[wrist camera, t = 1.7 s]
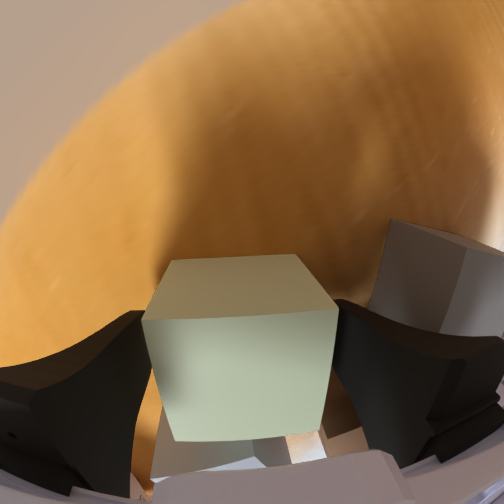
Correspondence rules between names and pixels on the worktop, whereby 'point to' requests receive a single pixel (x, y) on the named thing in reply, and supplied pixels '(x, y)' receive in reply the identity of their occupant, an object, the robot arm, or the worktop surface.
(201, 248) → the worktop surface
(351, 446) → the walnut block
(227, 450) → the slate block
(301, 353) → the sage block
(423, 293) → the charcoal block
